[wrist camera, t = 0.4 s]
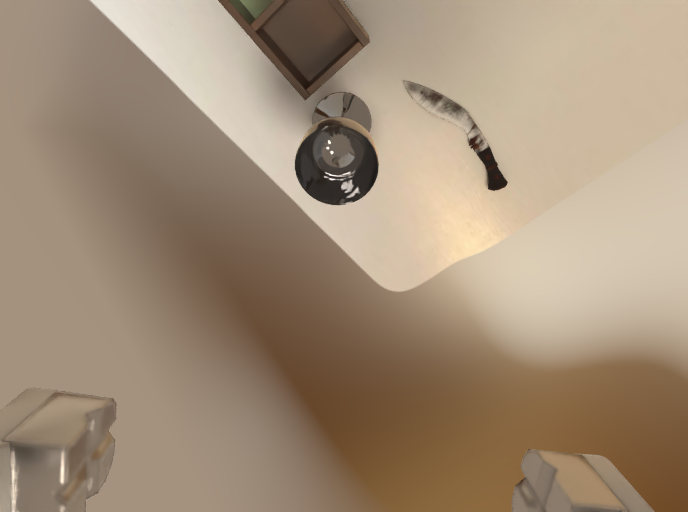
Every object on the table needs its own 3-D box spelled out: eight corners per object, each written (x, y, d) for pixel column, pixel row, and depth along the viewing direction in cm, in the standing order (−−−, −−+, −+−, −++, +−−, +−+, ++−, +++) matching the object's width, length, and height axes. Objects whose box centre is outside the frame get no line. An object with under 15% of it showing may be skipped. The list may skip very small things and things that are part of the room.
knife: (387, 100, 55) (417, 64, 53) (386, 98, 56) (415, 63, 54) (495, 196, 60) (526, 166, 58) (492, 192, 61) (522, 163, 60)
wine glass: (295, 120, 57) (277, 164, 45) (343, 73, 54) (338, 106, 42) (340, 166, 60) (335, 220, 48) (388, 124, 57) (396, 169, 45)
